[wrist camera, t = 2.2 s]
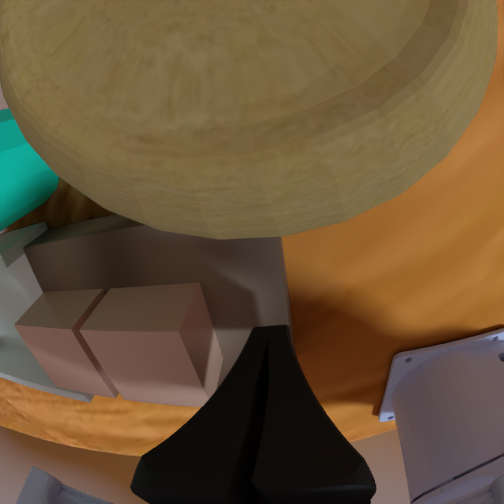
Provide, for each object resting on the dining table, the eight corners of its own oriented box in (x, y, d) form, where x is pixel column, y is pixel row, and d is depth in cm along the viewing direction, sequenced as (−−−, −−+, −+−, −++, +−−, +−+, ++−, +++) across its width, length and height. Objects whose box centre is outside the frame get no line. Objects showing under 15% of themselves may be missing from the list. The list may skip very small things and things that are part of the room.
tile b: (102, 288, 13) (71, 329, 10) (136, 356, 15) (116, 398, 12) (44, 291, 14) (13, 324, 11) (78, 351, 16) (56, 386, 13)
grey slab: (274, 188, 13) (272, 207, 11) (295, 356, 17) (295, 388, 15) (48, 229, 15) (22, 248, 13) (109, 356, 19) (95, 380, 17)
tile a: (199, 282, 12) (178, 331, 10) (223, 358, 14) (212, 407, 12) (110, 288, 13) (79, 329, 10) (143, 357, 15) (124, 399, 12)
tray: (45, 221, 15) (0, 253, 11) (112, 361, 19) (90, 402, 16) (-45, 249, 17) (-73, 271, 13) (6, 345, 22) (-14, 371, 18)
